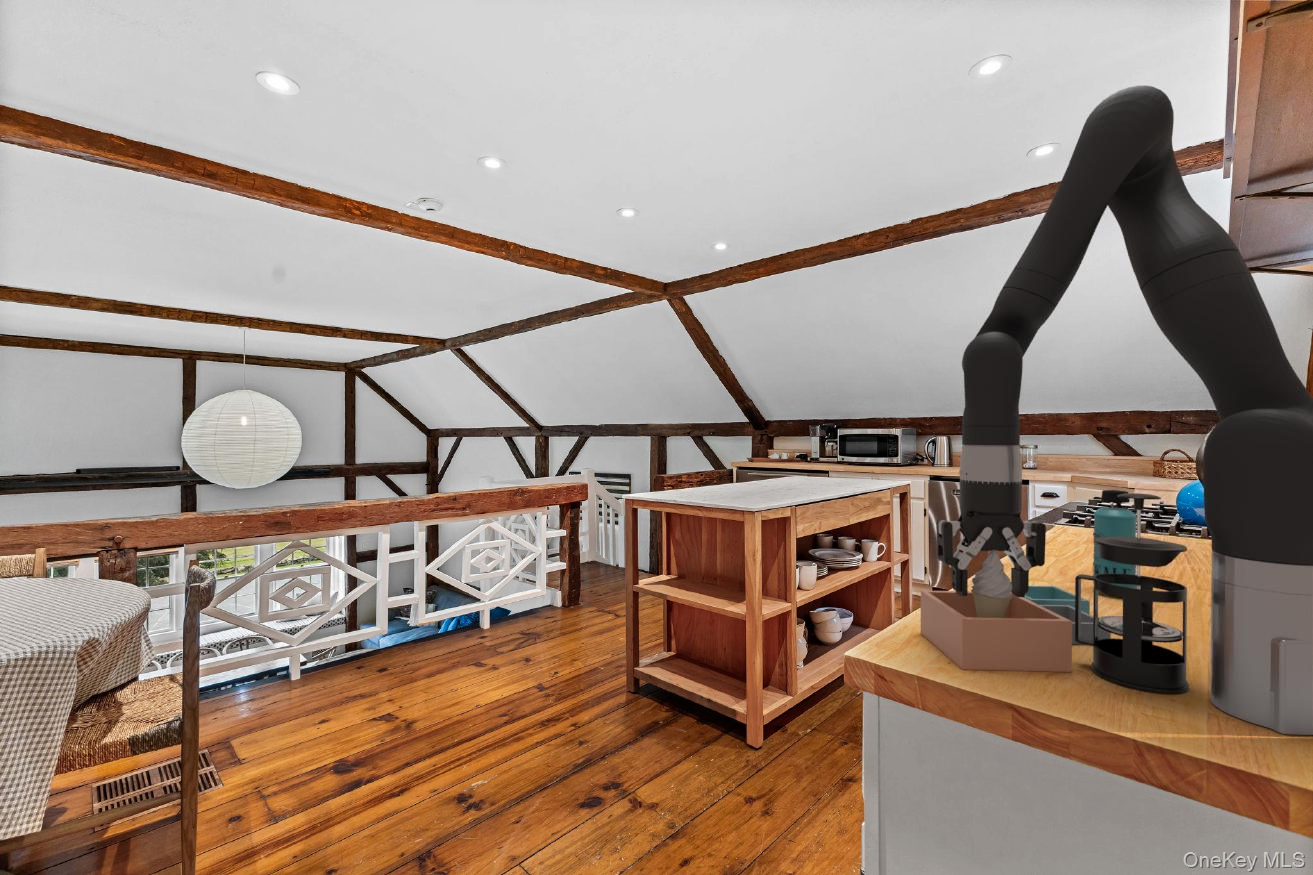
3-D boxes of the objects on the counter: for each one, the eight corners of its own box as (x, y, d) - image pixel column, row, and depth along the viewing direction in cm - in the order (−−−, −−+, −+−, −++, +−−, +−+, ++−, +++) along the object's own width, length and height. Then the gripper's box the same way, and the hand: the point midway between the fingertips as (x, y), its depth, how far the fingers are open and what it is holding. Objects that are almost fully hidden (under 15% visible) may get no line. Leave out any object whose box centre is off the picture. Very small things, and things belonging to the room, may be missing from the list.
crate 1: (1089, 619, 95) (1089, 600, 95) (1031, 617, 96) (1031, 599, 96) (1054, 602, 104) (1054, 586, 104) (1001, 601, 105) (1001, 585, 105)
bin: (1071, 671, 74) (1071, 621, 74) (962, 669, 75) (962, 619, 75) (1012, 635, 88) (1013, 592, 88) (920, 633, 88) (920, 590, 88)
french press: (1200, 680, 72) (1201, 494, 72) (1192, 704, 65) (1193, 500, 65) (1084, 653, 80) (1085, 487, 80) (1067, 672, 74) (1067, 492, 74)
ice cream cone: (961, 648, 81) (969, 542, 81) (973, 641, 85) (981, 539, 85) (1001, 660, 78) (1009, 549, 77) (1012, 652, 81) (1020, 546, 81)
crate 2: (1110, 644, 84) (1110, 624, 84) (1044, 643, 84) (1044, 622, 84) (1069, 624, 93) (1069, 605, 93) (1009, 622, 93) (1009, 604, 93)
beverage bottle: (1120, 592, 111) (1121, 488, 111) (1146, 602, 104) (1147, 492, 104) (1084, 591, 112) (1084, 488, 112) (1107, 601, 105) (1108, 491, 105)
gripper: (949, 479, 78) (949, 602, 78) (1060, 480, 77) (1059, 604, 77) (926, 475, 85) (926, 587, 85) (1027, 476, 84) (1027, 589, 85)
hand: (989, 595), depth 81 cm, fingers open, 7 cm apart
